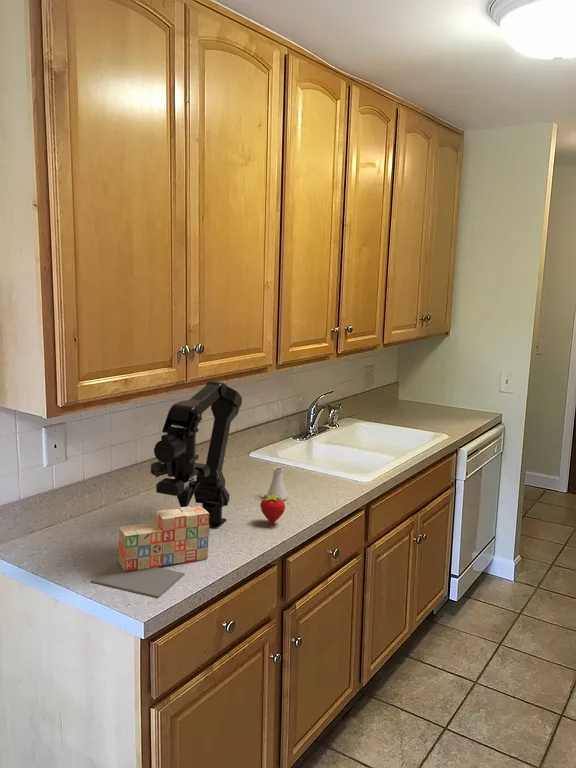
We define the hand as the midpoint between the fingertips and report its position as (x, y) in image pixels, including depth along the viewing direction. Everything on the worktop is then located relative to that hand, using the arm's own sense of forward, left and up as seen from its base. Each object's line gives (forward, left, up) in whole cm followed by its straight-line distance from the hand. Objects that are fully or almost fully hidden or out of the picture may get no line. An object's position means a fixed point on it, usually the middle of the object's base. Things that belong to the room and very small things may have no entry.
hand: (183, 509), depth 169 cm
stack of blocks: (+10, 0, -10) cm, 14 cm away
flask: (-44, +10, -11) cm, 46 cm away
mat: (+20, -1, -10) cm, 23 cm away
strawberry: (-24, +16, -11) cm, 31 cm away
